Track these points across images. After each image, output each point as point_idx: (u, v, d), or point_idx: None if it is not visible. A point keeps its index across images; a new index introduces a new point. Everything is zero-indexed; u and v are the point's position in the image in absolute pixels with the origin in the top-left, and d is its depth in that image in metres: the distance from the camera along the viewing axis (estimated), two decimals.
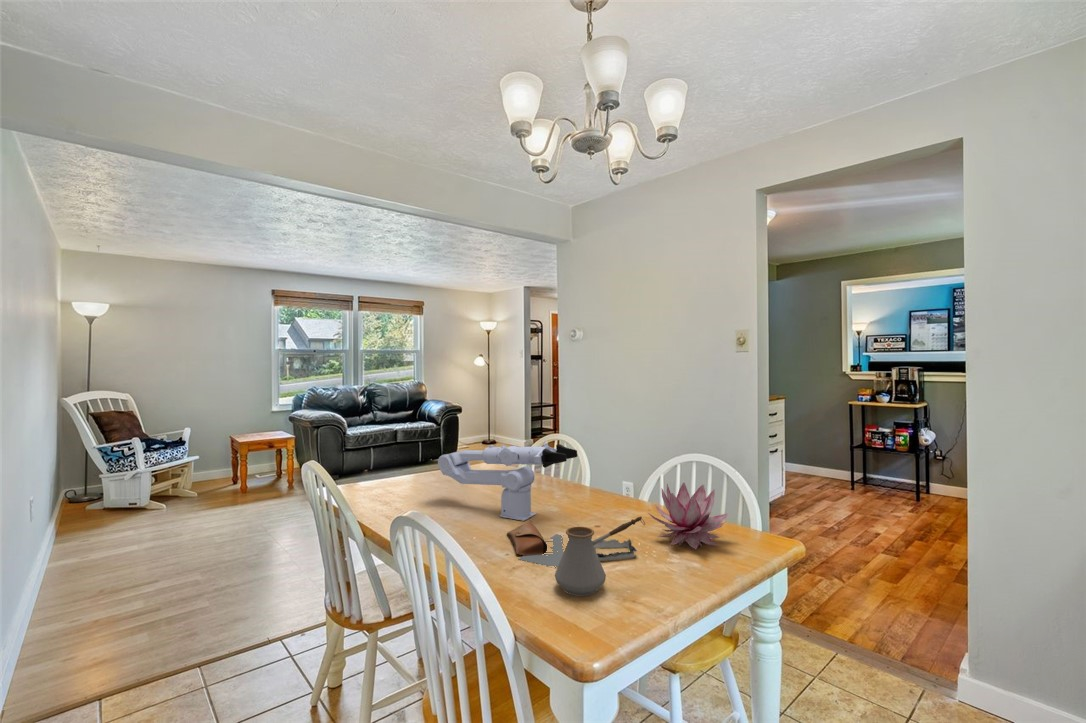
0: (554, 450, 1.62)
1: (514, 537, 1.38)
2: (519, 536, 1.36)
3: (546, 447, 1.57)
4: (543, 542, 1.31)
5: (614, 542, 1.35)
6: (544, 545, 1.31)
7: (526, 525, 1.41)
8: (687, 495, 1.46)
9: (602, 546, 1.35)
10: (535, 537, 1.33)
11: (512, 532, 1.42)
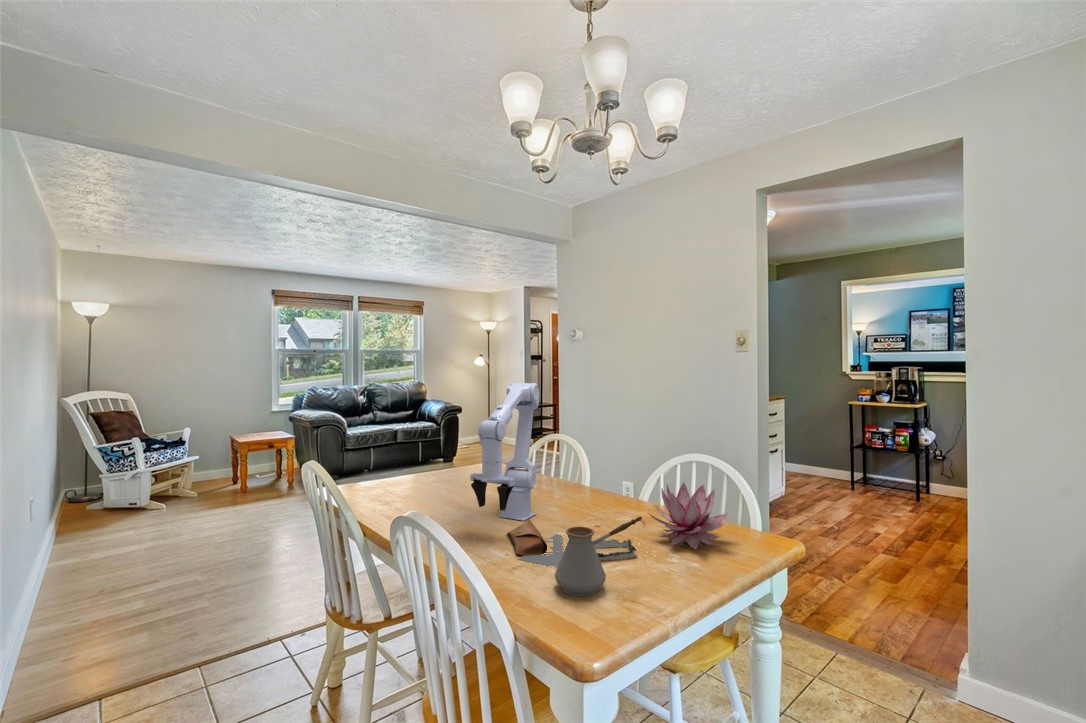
0: None
1: (514, 537, 1.38)
2: (519, 536, 1.36)
3: None
4: (543, 542, 1.31)
5: (614, 542, 1.35)
6: (544, 545, 1.31)
7: (526, 525, 1.41)
8: (687, 495, 1.46)
9: (602, 546, 1.35)
10: (535, 537, 1.33)
11: (512, 532, 1.42)
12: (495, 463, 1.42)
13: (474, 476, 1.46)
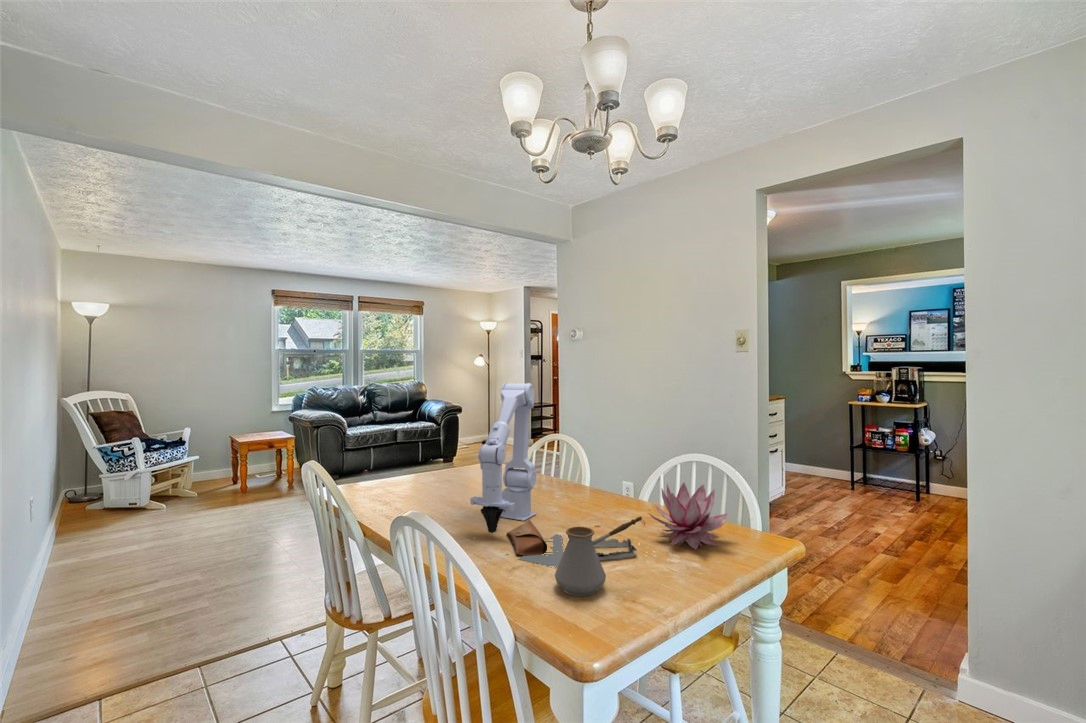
0: None
1: (514, 537, 1.38)
2: (519, 536, 1.36)
3: None
4: (543, 542, 1.31)
5: (614, 542, 1.35)
6: (544, 545, 1.31)
7: (526, 525, 1.41)
8: (687, 495, 1.46)
9: (602, 545, 1.35)
10: (535, 537, 1.33)
11: (512, 532, 1.42)
12: (495, 487, 1.41)
13: (474, 500, 1.46)
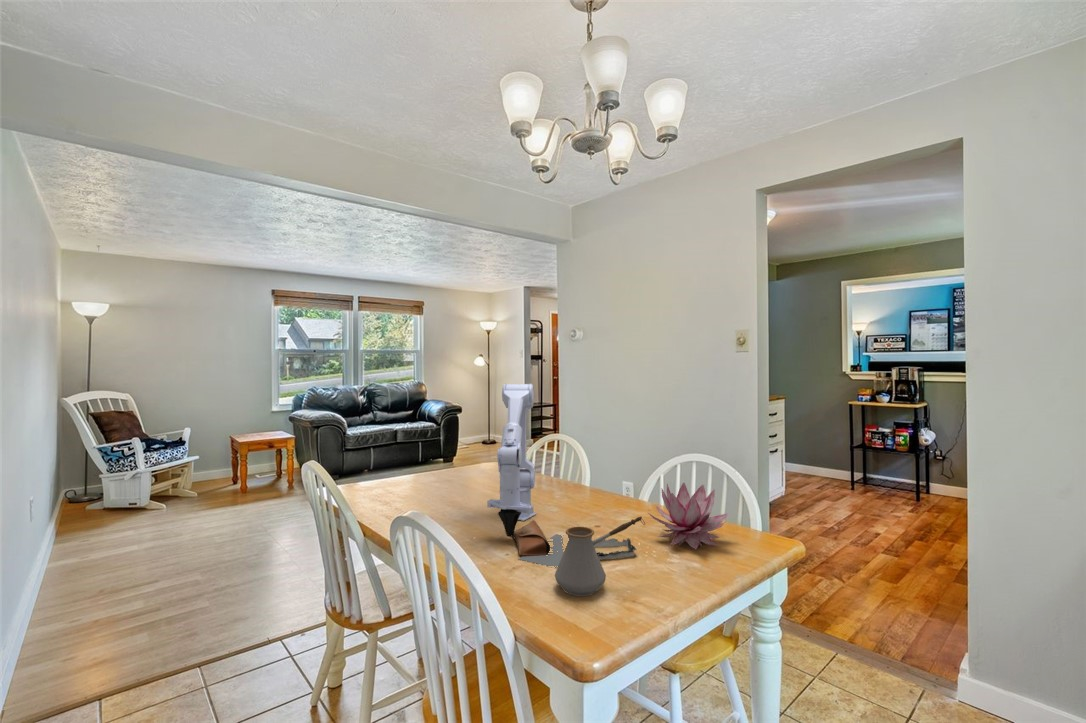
0: None
1: (517, 537, 1.38)
2: (522, 536, 1.36)
3: None
4: (546, 543, 1.30)
5: (613, 541, 1.36)
6: (547, 546, 1.30)
7: (530, 525, 1.41)
8: (687, 495, 1.46)
9: (602, 545, 1.35)
10: (538, 537, 1.33)
11: (516, 532, 1.42)
12: (513, 490, 1.38)
13: (491, 503, 1.43)
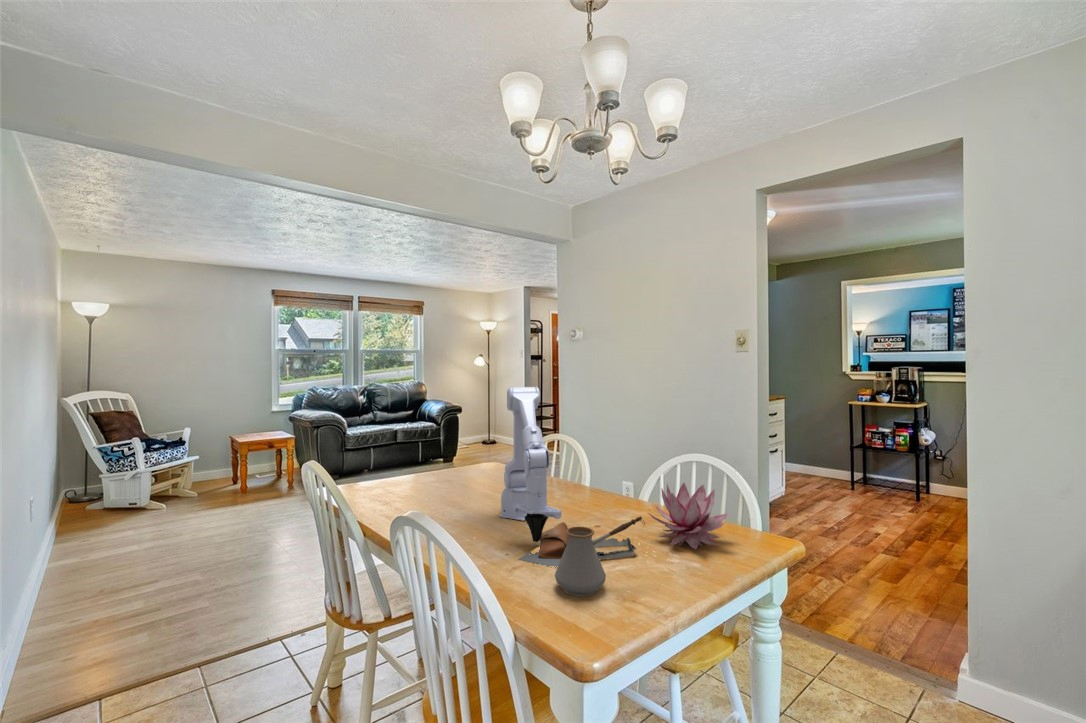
0: None
1: (542, 539, 1.36)
2: (546, 538, 1.34)
3: None
4: None
5: (613, 541, 1.36)
6: None
7: (557, 528, 1.39)
8: (687, 495, 1.46)
9: (601, 545, 1.36)
10: (559, 541, 1.30)
11: (543, 533, 1.41)
12: (540, 494, 1.34)
13: (517, 507, 1.38)
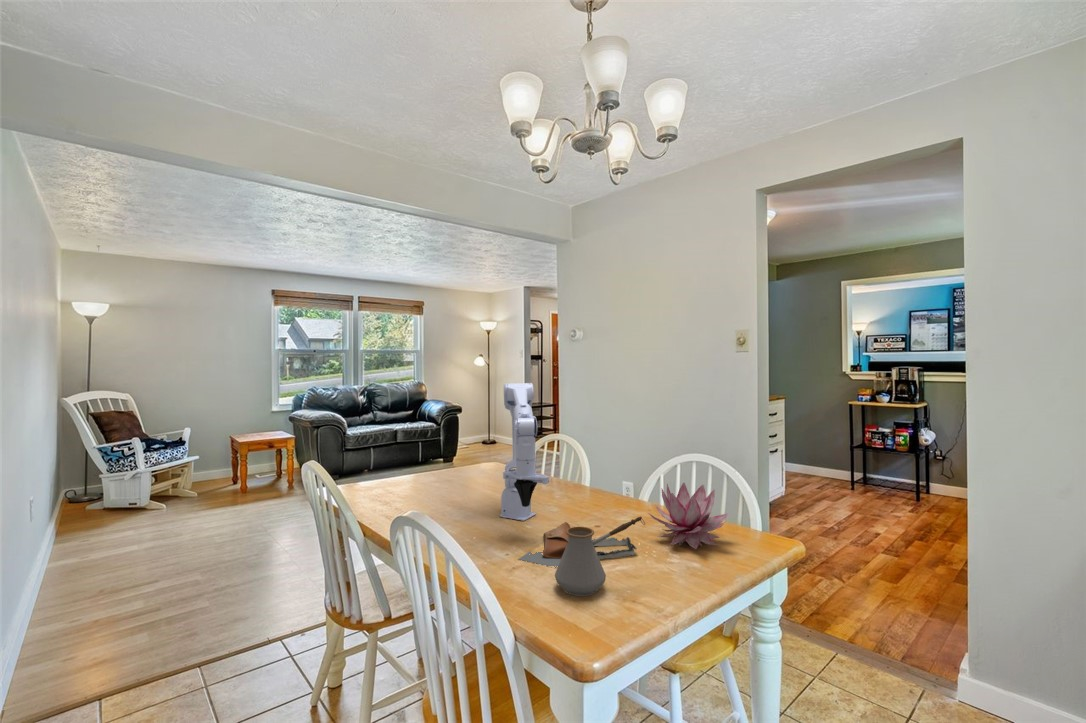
0: None
1: (546, 539, 1.36)
2: (549, 538, 1.34)
3: None
4: None
5: (613, 540, 1.36)
6: None
7: (560, 527, 1.39)
8: (687, 495, 1.46)
9: (601, 544, 1.36)
10: (563, 541, 1.30)
11: (546, 533, 1.41)
12: (529, 461, 1.40)
13: (507, 474, 1.45)
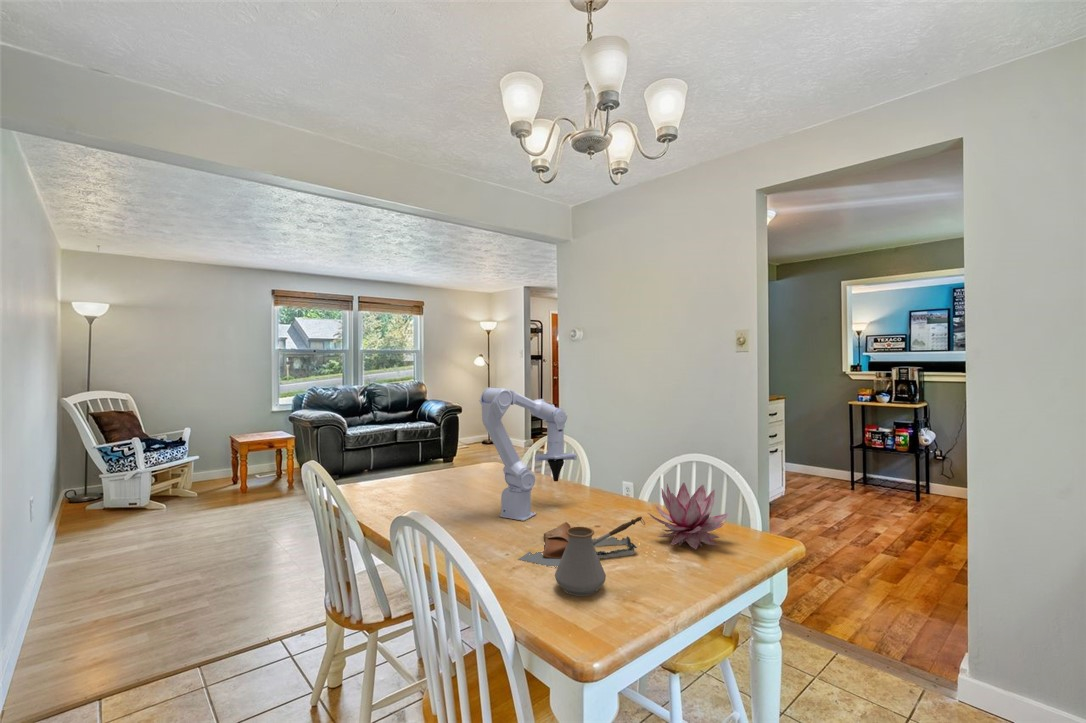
0: None
1: (546, 539, 1.36)
2: (550, 538, 1.34)
3: (555, 458, 1.69)
4: None
5: (613, 540, 1.37)
6: None
7: (560, 527, 1.39)
8: (687, 495, 1.46)
9: (601, 544, 1.36)
10: (564, 541, 1.30)
11: (547, 533, 1.41)
12: (562, 442, 1.71)
13: (540, 456, 1.70)
